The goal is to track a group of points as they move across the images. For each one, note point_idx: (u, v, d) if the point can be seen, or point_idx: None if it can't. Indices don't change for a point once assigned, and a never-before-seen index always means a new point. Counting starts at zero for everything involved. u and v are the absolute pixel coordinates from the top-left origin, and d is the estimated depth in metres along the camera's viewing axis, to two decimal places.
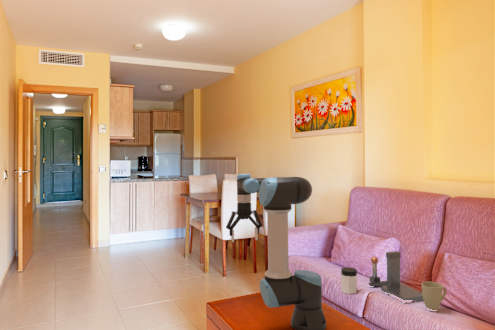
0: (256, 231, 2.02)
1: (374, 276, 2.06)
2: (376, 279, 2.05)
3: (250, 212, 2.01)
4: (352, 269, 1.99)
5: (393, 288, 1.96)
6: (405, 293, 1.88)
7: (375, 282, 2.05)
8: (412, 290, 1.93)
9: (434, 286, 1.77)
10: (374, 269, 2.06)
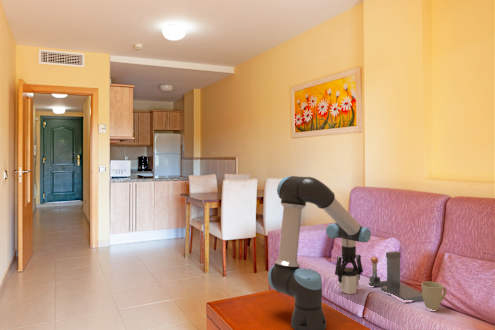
0: (357, 277, 2.00)
1: (374, 276, 2.06)
2: (376, 279, 2.05)
3: (355, 256, 1.99)
4: (352, 269, 1.99)
5: (393, 288, 1.96)
6: (405, 293, 1.88)
7: (375, 282, 2.05)
8: (412, 290, 1.93)
9: (434, 286, 1.77)
10: (374, 269, 2.06)
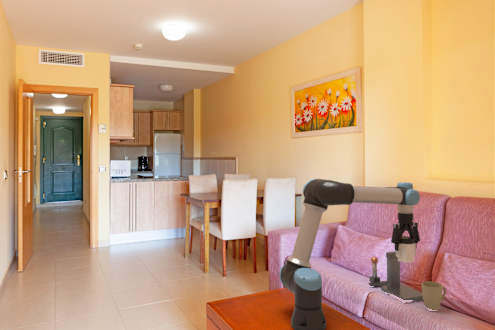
0: (414, 246, 1.90)
1: (374, 276, 2.06)
2: (376, 279, 2.05)
3: (412, 223, 1.89)
4: (409, 237, 1.89)
5: (393, 288, 1.96)
6: (405, 293, 1.88)
7: (375, 282, 2.05)
8: (412, 290, 1.93)
9: (434, 286, 1.77)
10: (374, 269, 2.06)
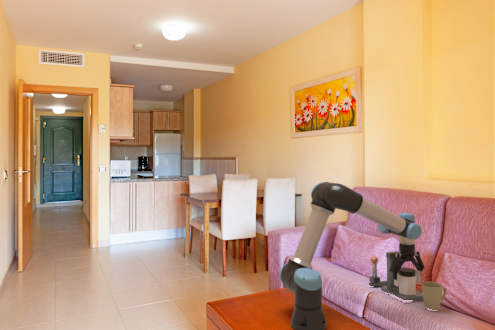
0: (419, 274, 1.90)
1: (374, 276, 2.06)
2: (376, 279, 2.05)
3: (413, 254, 1.89)
4: (410, 269, 1.89)
5: (393, 288, 1.96)
6: None
7: (375, 282, 2.05)
8: None
9: (434, 286, 1.77)
10: (374, 269, 2.06)
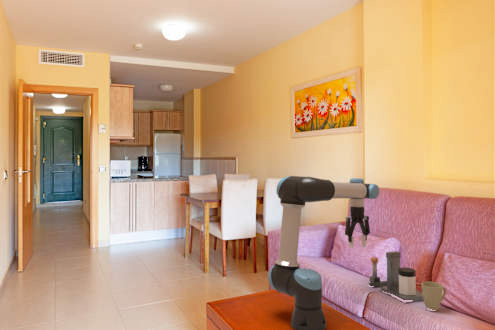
0: (364, 238, 2.03)
1: (374, 276, 2.06)
2: (376, 279, 2.05)
3: (363, 216, 2.03)
4: (410, 269, 1.89)
5: (393, 288, 1.96)
6: None
7: (375, 282, 2.05)
8: None
9: (434, 286, 1.77)
10: (374, 269, 2.06)
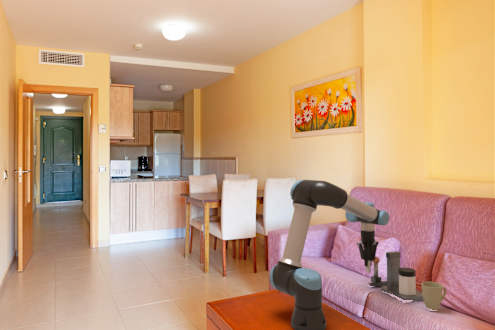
0: (369, 263, 2.04)
1: (375, 276, 2.06)
2: (377, 279, 2.05)
3: (373, 240, 2.05)
4: (410, 269, 1.89)
5: (393, 288, 1.96)
6: None
7: (376, 282, 2.05)
8: None
9: (434, 286, 1.77)
10: (375, 269, 2.06)
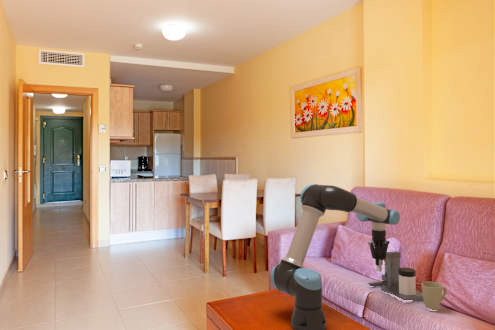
0: (380, 263, 2.07)
1: (386, 274, 2.08)
2: None
3: (384, 239, 2.08)
4: (410, 269, 1.89)
5: (393, 288, 1.96)
6: None
7: None
8: None
9: (434, 286, 1.77)
10: (386, 268, 2.08)
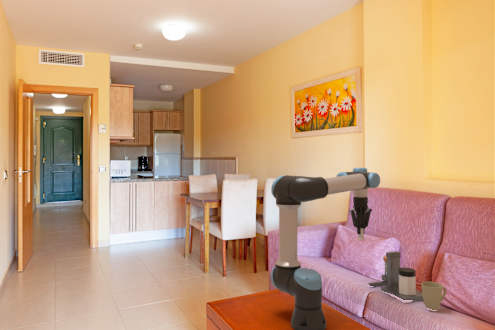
0: (362, 231, 1.96)
1: (386, 274, 2.08)
2: None
3: (366, 207, 1.97)
4: (410, 269, 1.89)
5: (393, 288, 1.96)
6: None
7: None
8: None
9: (434, 286, 1.77)
10: (386, 268, 2.08)
